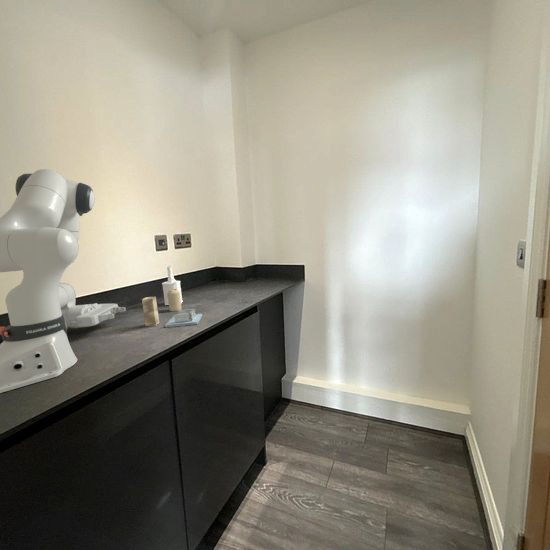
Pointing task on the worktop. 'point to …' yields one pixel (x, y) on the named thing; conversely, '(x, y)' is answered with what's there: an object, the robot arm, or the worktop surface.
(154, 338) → the worktop surface
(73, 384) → the worktop surface
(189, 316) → the slot bracket
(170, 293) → the candle
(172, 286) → the white tall bottle shape
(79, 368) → the worktop surface
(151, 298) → the beech post
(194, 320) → the base plate
